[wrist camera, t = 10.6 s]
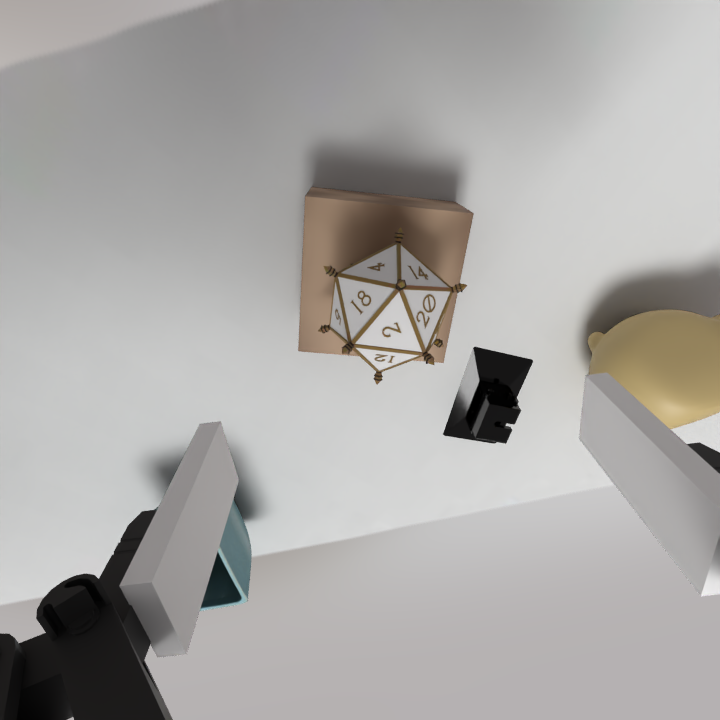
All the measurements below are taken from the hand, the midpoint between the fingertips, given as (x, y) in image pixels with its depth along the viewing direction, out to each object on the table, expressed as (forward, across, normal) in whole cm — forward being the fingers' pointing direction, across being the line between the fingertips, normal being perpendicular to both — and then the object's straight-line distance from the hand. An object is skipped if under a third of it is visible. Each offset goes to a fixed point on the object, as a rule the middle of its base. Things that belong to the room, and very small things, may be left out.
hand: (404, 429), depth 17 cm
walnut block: (+23, 0, 0) cm, 23 cm away
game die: (+17, +1, 0) cm, 17 cm away
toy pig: (+23, +22, -10) cm, 34 cm away
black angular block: (+24, +9, -14) cm, 29 cm away
